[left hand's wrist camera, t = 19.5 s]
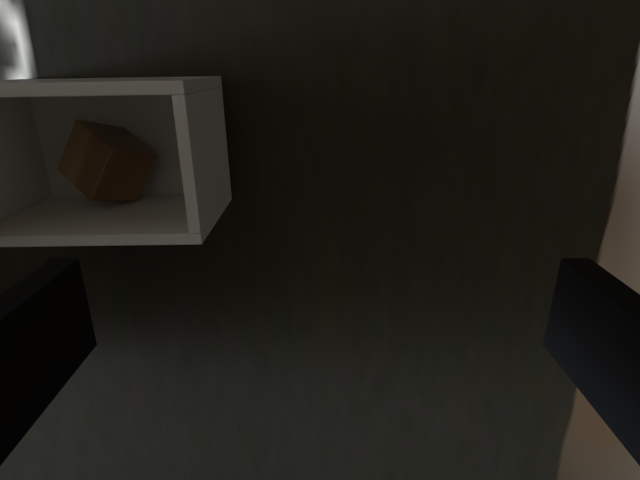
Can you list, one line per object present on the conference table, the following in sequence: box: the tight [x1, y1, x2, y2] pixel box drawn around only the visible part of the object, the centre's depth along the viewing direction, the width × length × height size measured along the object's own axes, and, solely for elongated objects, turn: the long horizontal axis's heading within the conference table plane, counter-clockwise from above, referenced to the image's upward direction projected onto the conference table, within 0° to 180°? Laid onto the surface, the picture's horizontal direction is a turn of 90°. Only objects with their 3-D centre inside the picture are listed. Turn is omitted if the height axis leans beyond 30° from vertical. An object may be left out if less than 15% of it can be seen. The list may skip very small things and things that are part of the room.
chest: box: [0, 76, 232, 247], centre depth 31 cm, size 15×10×10 cm, turn 91°
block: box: [58, 119, 157, 201], centre depth 33 cm, size 4×4×4 cm
